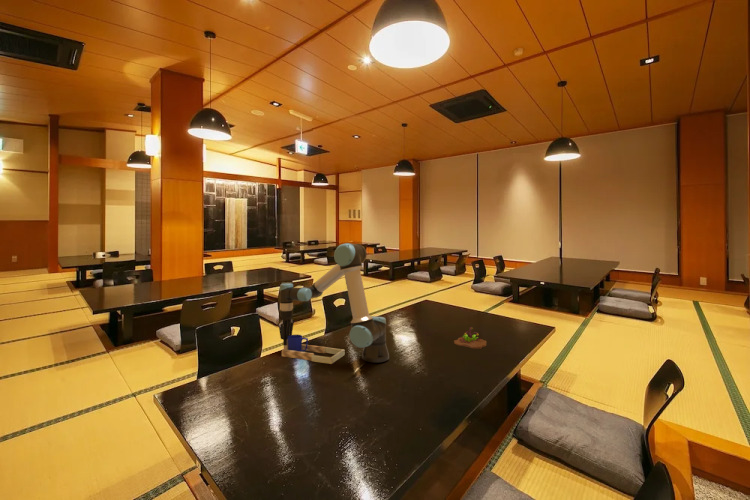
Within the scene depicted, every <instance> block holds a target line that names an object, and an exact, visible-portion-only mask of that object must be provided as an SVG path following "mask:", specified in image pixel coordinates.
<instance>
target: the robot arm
mask: <svg viewBox="0 0 750 500" xmlns="http://www.w3.org/2000/svg"><path fill="white" fill-rule="evenodd" d="M367 256H368V254H367V250H366V248H365V247H364V246H363V245H362V244H360V243H348V242H346V243H342V244H340V245H338V246H337V247H336V249H335V250H334V252H333V257H334V262H335V263H336V264H335V266H333V267H332V268H330V270H328V271H327V272H326V273H324V275H322V276H321V277H319V279H317V280H316V281H315V282H314V283H312V284H311V285H307V286H303V287H294V283H291V282H290V283H289V282H286V283H281V284H280V285H279V317H280V322H279V323H278V324H277V326H278V330H279V337H280V340H282V341H283V349H285V350H288V336H290V335H293V328H294V323H295V319H293V316H294V301H298V302H309V301H310V300H311V299H317V298H319V297H321V296H322V295H323V293H324V292H325V291H326V290H328V289H329V287H331V286H333V285H334V284H335V283H336V282H338V281H339V280H341V279H342V277H344V279H345V285H346V289H347V294H348V299H349V304H350V310H351V315H352V320H351V321H350V325H351V328H350V331H349V334H348V335H349V339H350V342H351V343H352V344H353V346H355V347H357V348H359V349H362V353H361V359H362V360H363V361H365V362H368V363H383V362H387V361H388V360H389V359H390V353H389V350H388V347H387V319H386V317H384V316H373V315H370V313H369V308H368V303H367V302H368V301H367V298H366V293H365V288H364V284H363V278H362V273H361V270H362V267H363V263H364V262H365V261H366V259H367Z"/></svg>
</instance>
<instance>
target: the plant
mask: <svg viewBox="0 0 750 500" xmlns="http://www.w3.org/2000/svg"><path fill="white" fill-rule="evenodd" d="M472 330H473V326H470V327H469V330H467V331H466V332H464V334H463V335H462V336H460V337H458V338H457V339H455V340H453V344H455V345H456V346H459V347H466V348H470V349H474V350H475V349H477V350H479V349H483V348H485V347H487V340H484V339H482V338H479V333H478V332H476V331H474V332H472ZM476 336H477V337H476Z"/></svg>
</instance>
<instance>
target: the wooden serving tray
mask: <svg viewBox="0 0 750 500" xmlns="http://www.w3.org/2000/svg"><path fill="white" fill-rule="evenodd" d="M305 348H306V343H305V344H303V343H302V350H305ZM325 348H326V346H322V345H321V346H320V345H314V344H313V345H312V344H308V345H307V349H306V351H304V352H303V351H301V352H300V351H293V350H285V349H284V348H282V349H281V357H285V358H290V359H292V358H293V359H300V360H306V361H312V355H315V353H319V354H326V353H325Z"/></svg>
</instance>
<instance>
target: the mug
mask: <svg viewBox="0 0 750 500" xmlns="http://www.w3.org/2000/svg"><path fill="white" fill-rule="evenodd" d="M303 340H305V341H306V343H305V345H306V348H305V350H302V344H303ZM308 343H309V338H307V337H303V335H301V334H292V335H290V336H288V350H293V351H300V352H307V351H306V349H307V345H309V344H308Z"/></svg>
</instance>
